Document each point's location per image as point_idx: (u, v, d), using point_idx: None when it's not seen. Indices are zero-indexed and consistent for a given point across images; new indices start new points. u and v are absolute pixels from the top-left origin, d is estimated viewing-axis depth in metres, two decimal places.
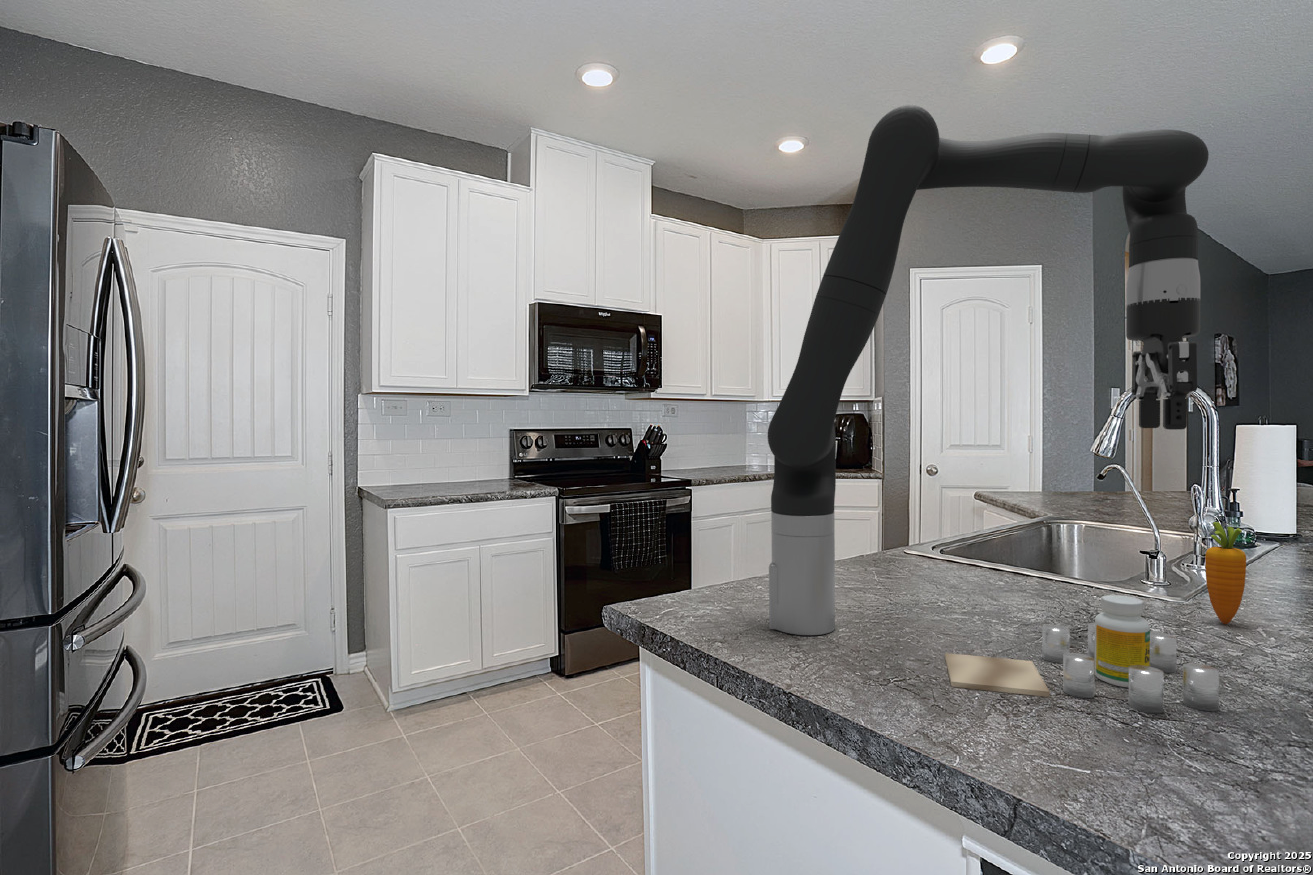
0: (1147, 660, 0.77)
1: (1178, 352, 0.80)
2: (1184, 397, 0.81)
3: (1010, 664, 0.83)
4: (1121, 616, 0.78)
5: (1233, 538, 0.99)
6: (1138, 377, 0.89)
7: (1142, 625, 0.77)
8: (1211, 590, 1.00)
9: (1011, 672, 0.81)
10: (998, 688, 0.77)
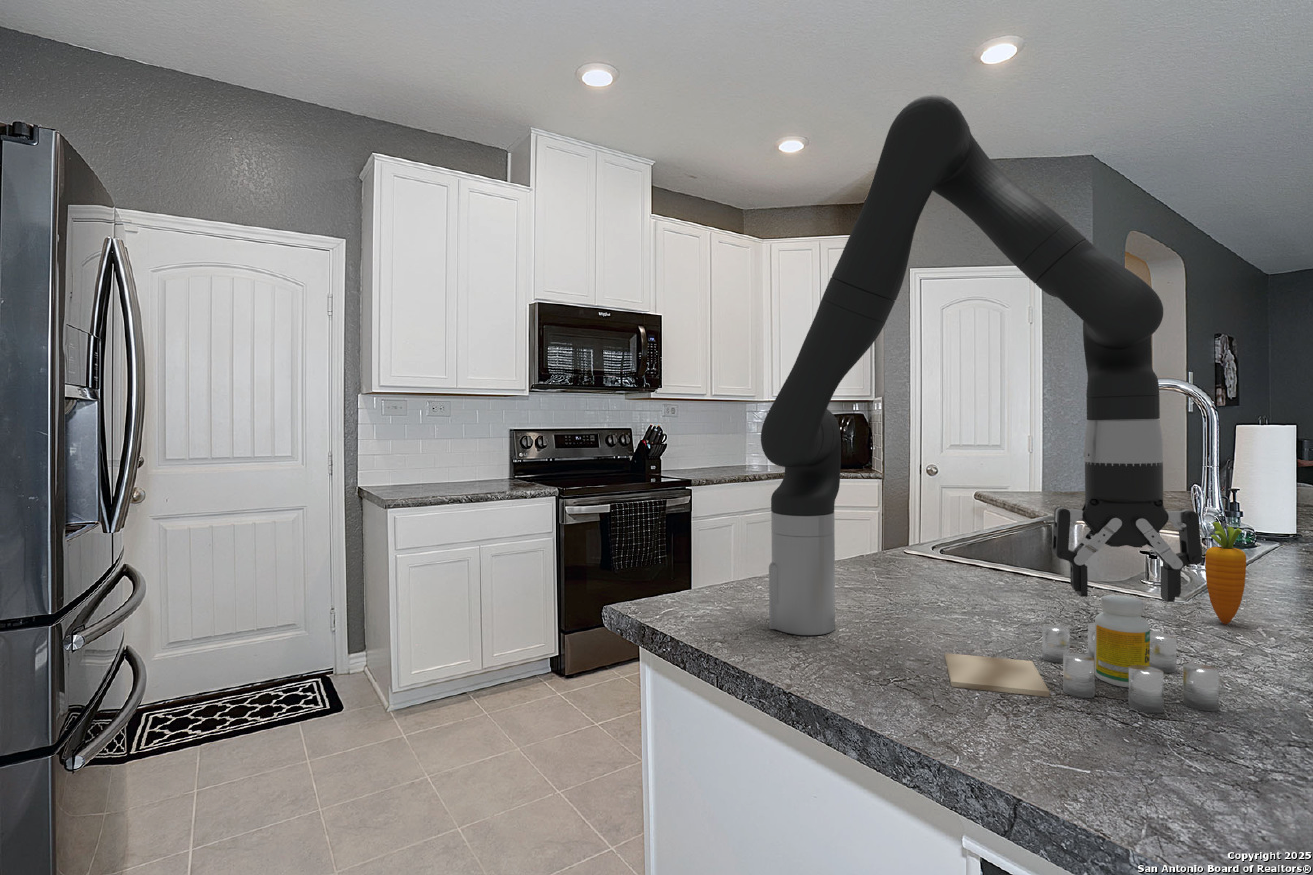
0: (1147, 660, 0.77)
1: None
2: None
3: (1010, 664, 0.83)
4: (1121, 616, 0.78)
5: (1233, 538, 0.99)
6: (1101, 541, 0.78)
7: (1142, 625, 0.77)
8: (1210, 590, 1.00)
9: (1011, 672, 0.81)
10: (998, 688, 0.77)
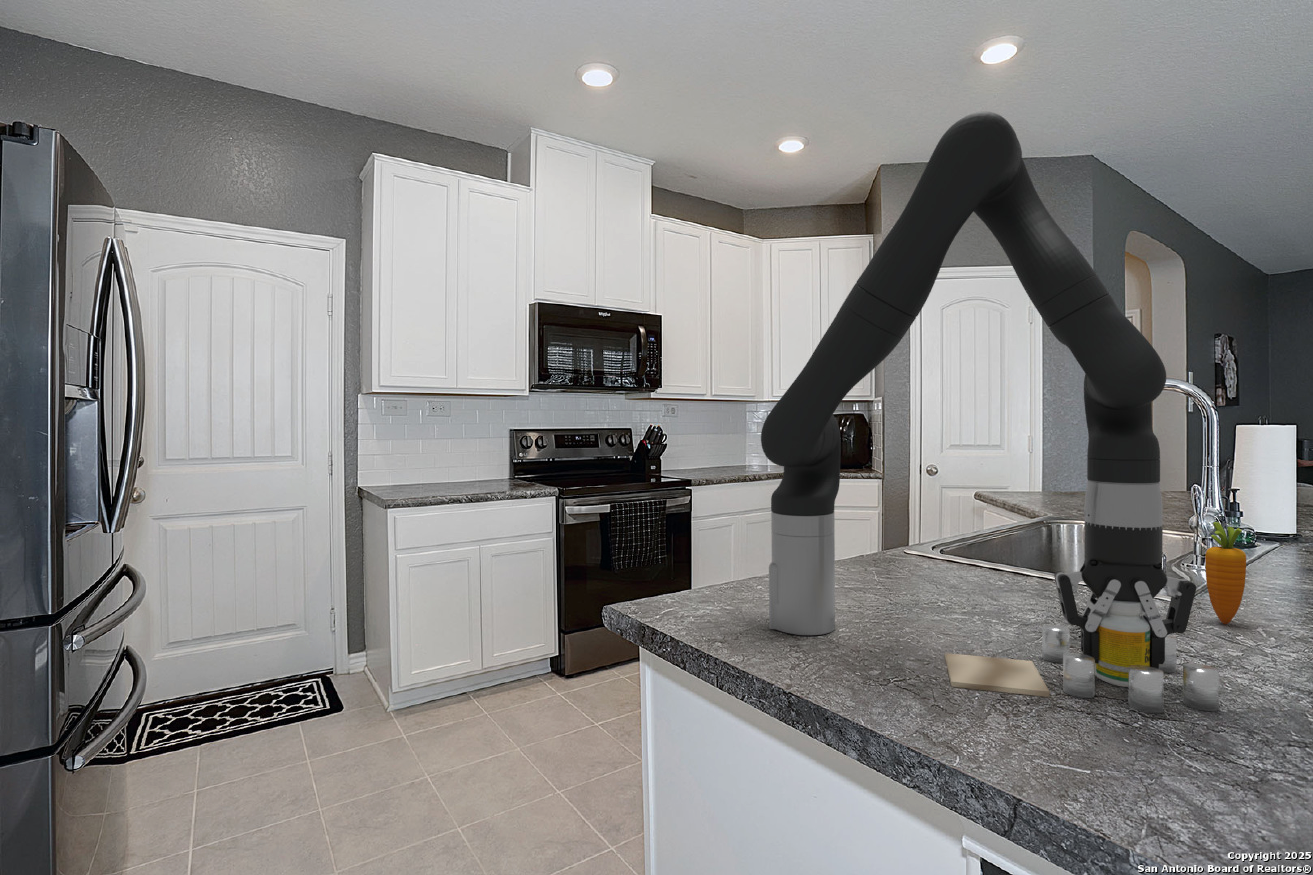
0: (1147, 660, 0.77)
1: None
2: None
3: (1010, 664, 0.83)
4: (1121, 616, 0.78)
5: (1233, 538, 0.99)
6: (1106, 605, 0.79)
7: (1142, 625, 0.77)
8: (1211, 590, 1.00)
9: (1011, 672, 0.81)
10: (998, 688, 0.77)
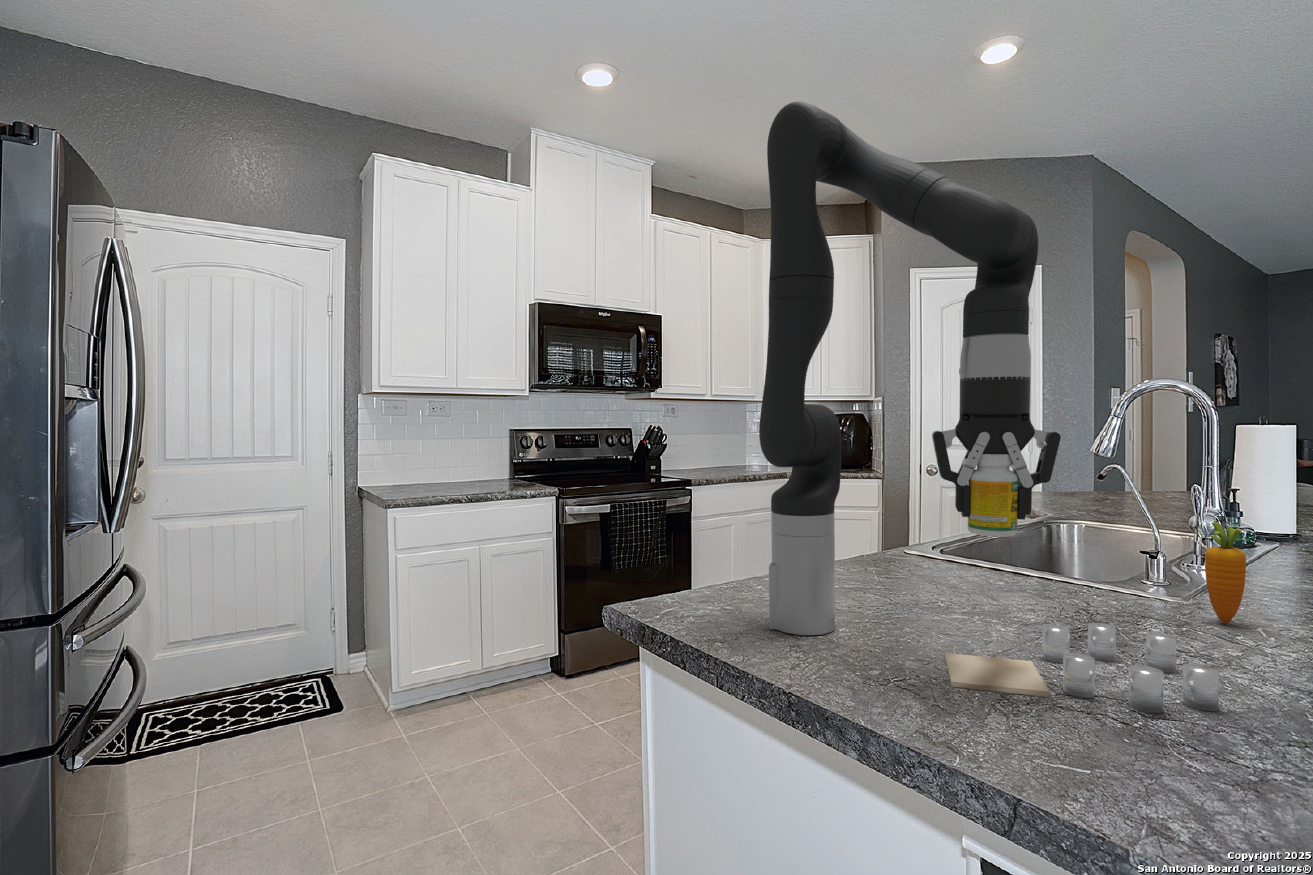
0: (1014, 510, 0.79)
1: None
2: None
3: (1010, 664, 0.83)
4: (990, 468, 0.80)
5: (1233, 538, 0.99)
6: (976, 458, 0.80)
7: (1009, 475, 0.79)
8: (1210, 590, 1.00)
9: (1011, 672, 0.81)
10: (998, 688, 0.77)
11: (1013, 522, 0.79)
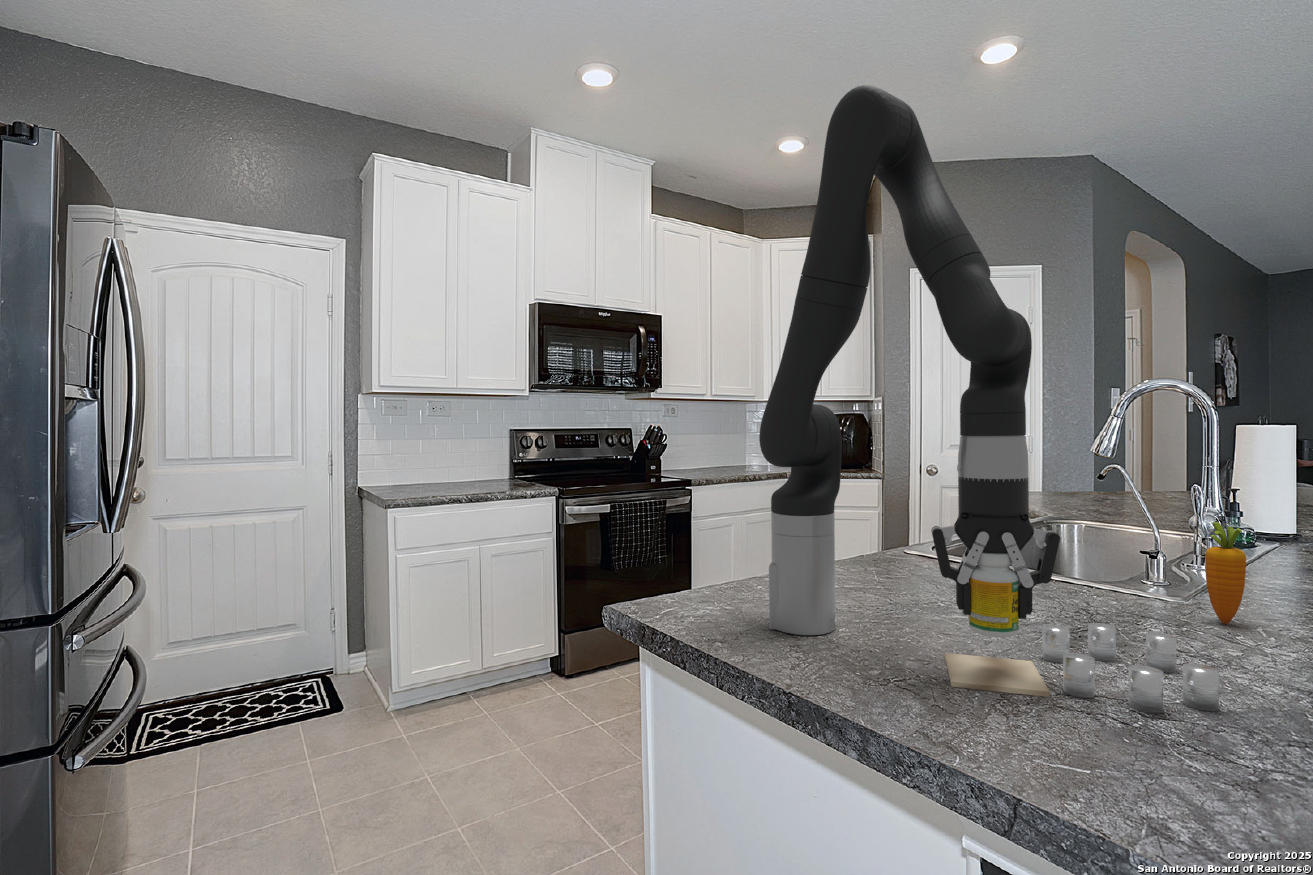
0: (1014, 610, 0.79)
1: None
2: None
3: (1010, 664, 0.83)
4: (990, 567, 0.80)
5: (1233, 538, 0.99)
6: (976, 557, 0.80)
7: (1009, 575, 0.79)
8: (1210, 590, 1.00)
9: (1011, 672, 0.81)
10: (998, 688, 0.77)
11: (1014, 623, 0.79)
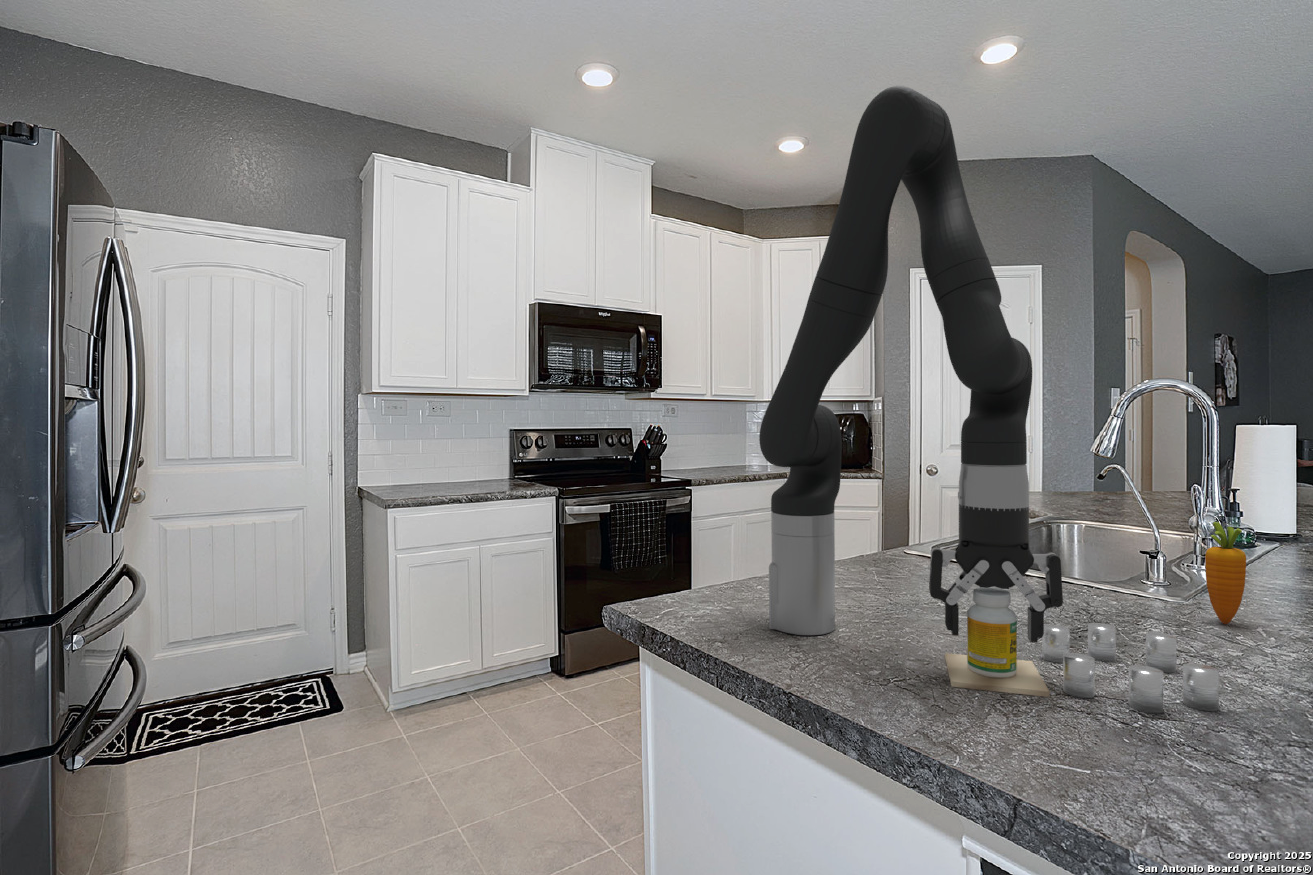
0: (1013, 651, 0.79)
1: None
2: None
3: None
4: (989, 608, 0.80)
5: (1233, 538, 0.98)
6: (970, 582, 0.80)
7: (1007, 617, 0.79)
8: (1210, 590, 1.00)
9: None
10: (998, 688, 0.77)
11: (1012, 663, 0.79)
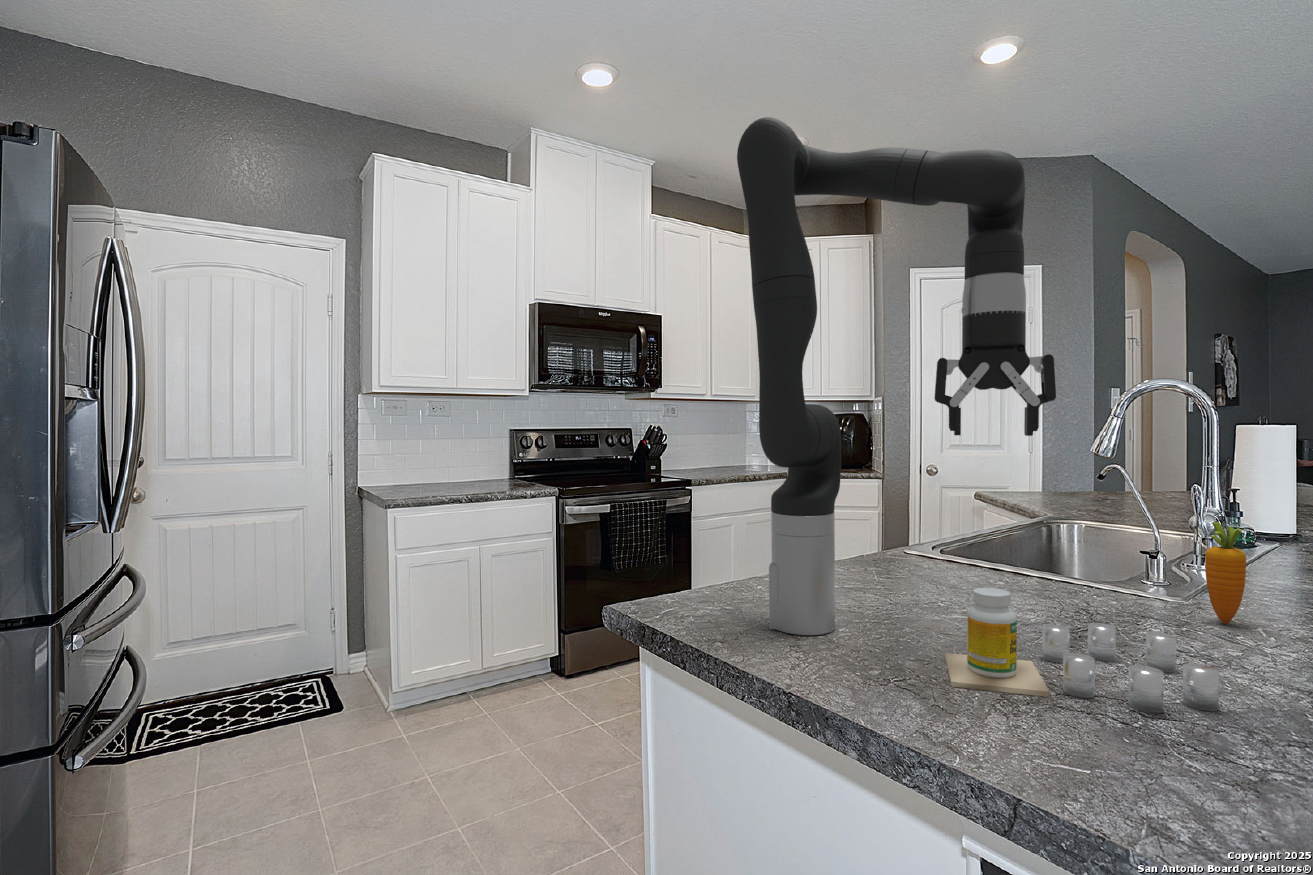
0: (1013, 651, 0.79)
1: None
2: None
3: None
4: (989, 608, 0.80)
5: (1233, 538, 0.99)
6: (972, 384, 0.89)
7: (1007, 617, 0.79)
8: (1211, 590, 1.00)
9: None
10: (998, 688, 0.77)
11: (1012, 663, 0.79)
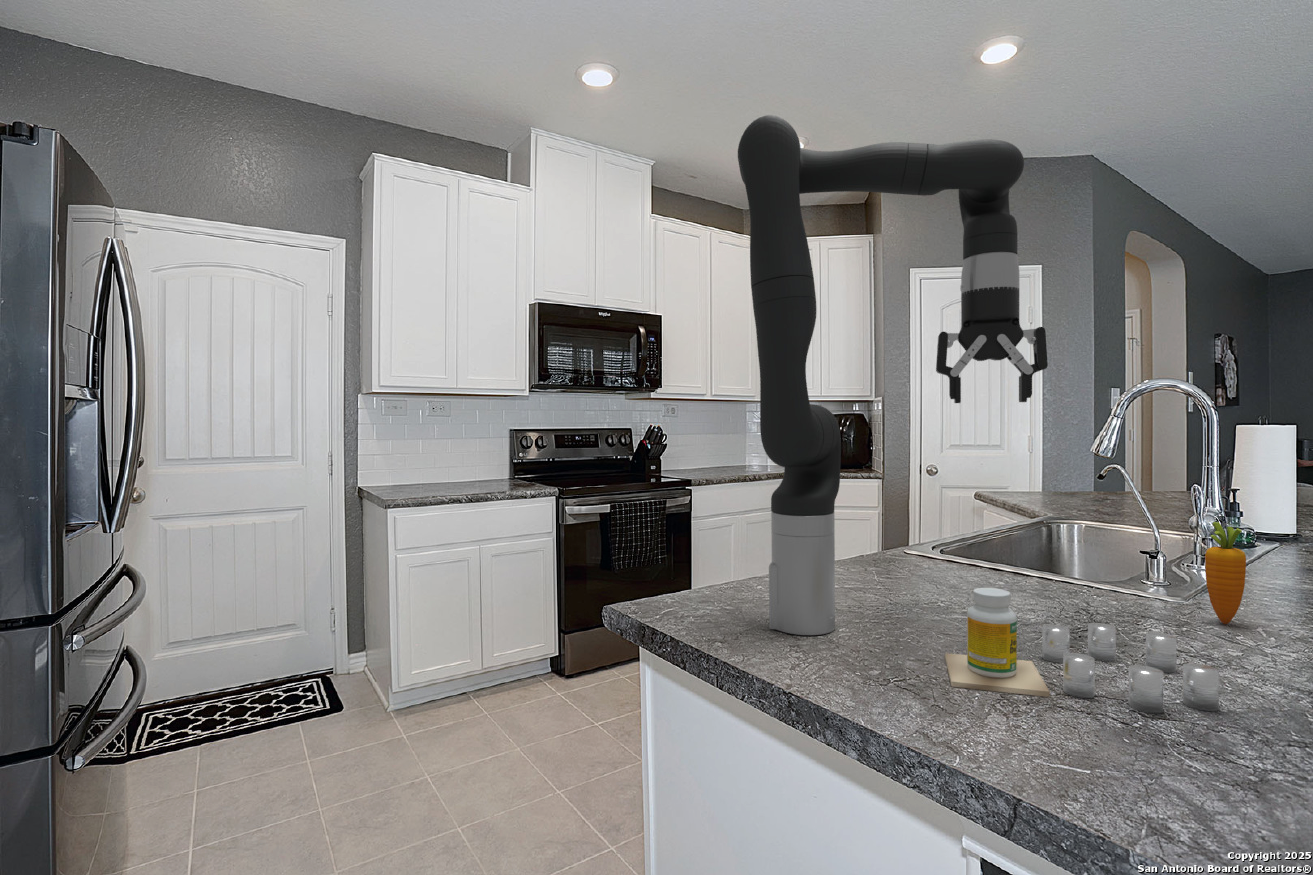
0: (1013, 651, 0.79)
1: None
2: None
3: None
4: (989, 608, 0.80)
5: (1233, 538, 0.99)
6: (971, 355, 0.97)
7: (1007, 617, 0.79)
8: (1210, 590, 1.00)
9: None
10: (998, 688, 0.77)
11: (1012, 663, 0.79)
